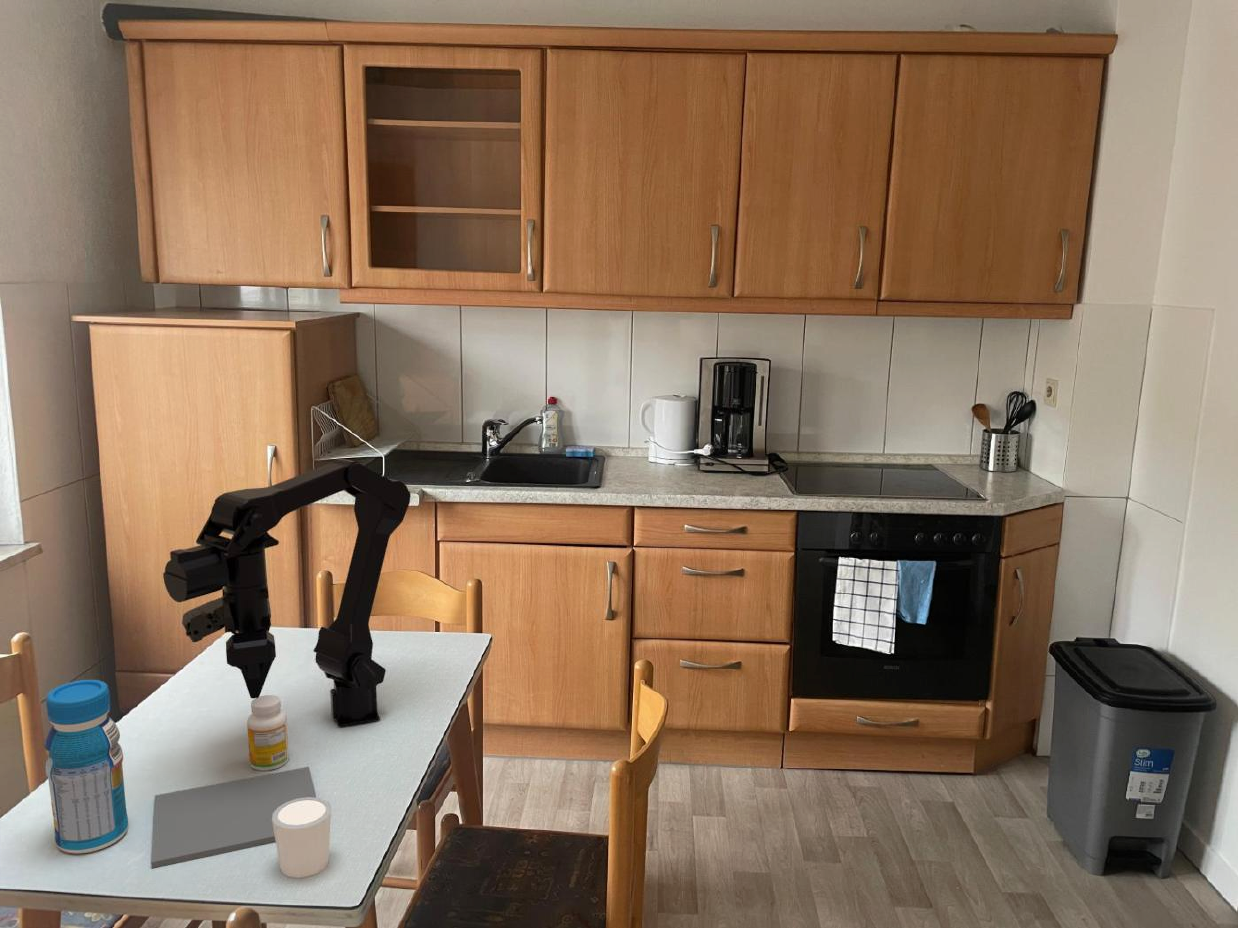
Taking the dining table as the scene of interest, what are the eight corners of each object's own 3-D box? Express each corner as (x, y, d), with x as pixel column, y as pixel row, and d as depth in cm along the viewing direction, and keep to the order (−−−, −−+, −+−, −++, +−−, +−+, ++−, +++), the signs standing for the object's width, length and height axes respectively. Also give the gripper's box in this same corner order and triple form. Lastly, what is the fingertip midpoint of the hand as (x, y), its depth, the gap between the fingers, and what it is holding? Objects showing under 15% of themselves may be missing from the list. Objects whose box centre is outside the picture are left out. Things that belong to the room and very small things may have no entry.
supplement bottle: (255, 753, 143) (251, 692, 141) (293, 752, 143) (289, 692, 141) (245, 772, 137) (240, 709, 135) (283, 771, 138) (279, 708, 136)
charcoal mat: (309, 771, 138) (308, 766, 138) (323, 831, 123) (323, 825, 123) (155, 800, 130) (154, 795, 130) (151, 868, 115) (151, 862, 115)
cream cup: (279, 887, 112) (276, 833, 111) (271, 855, 118) (267, 804, 117) (339, 871, 115) (336, 819, 114) (328, 841, 121) (325, 791, 120)
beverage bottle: (78, 864, 116) (61, 711, 112) (40, 841, 120) (23, 694, 116) (144, 830, 123) (130, 686, 119) (106, 810, 127) (92, 670, 123)
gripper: (185, 568, 140) (194, 667, 144) (180, 611, 123) (191, 722, 127) (266, 559, 144) (273, 656, 148) (271, 600, 128) (280, 708, 131)
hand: (253, 684), depth 138 cm, fingers open, 9 cm apart
